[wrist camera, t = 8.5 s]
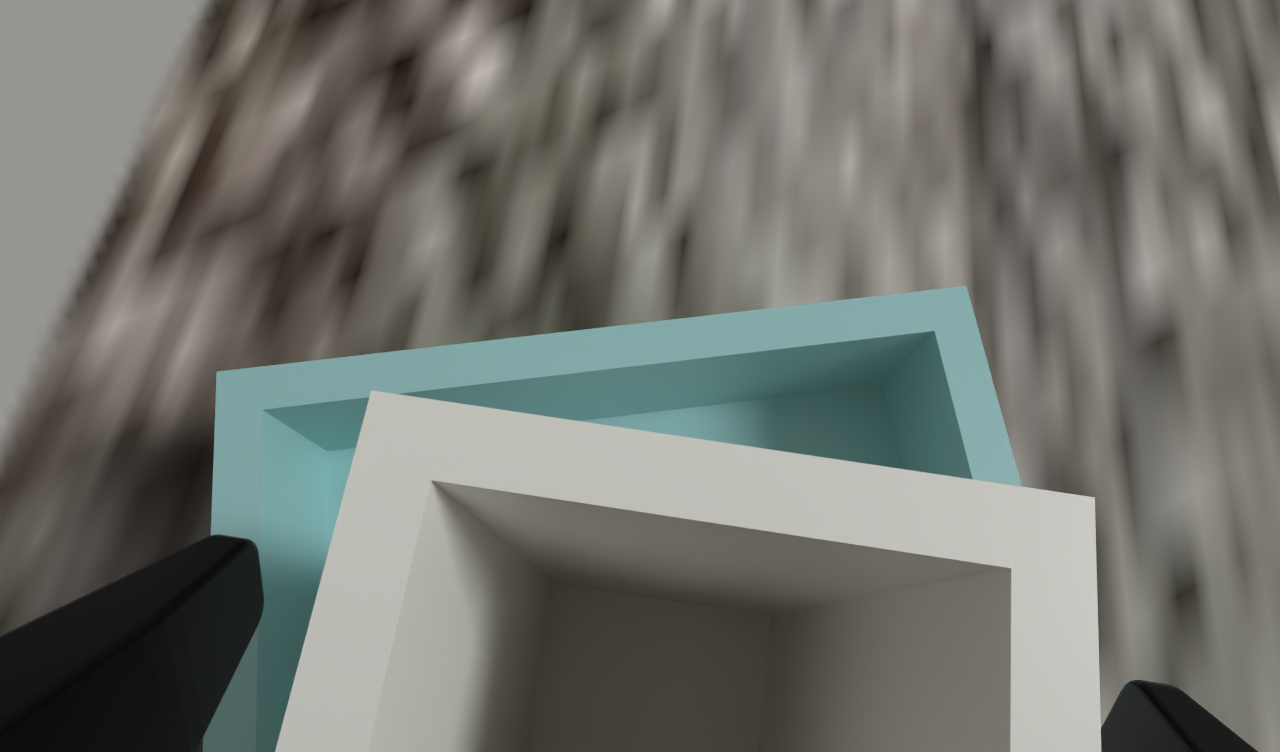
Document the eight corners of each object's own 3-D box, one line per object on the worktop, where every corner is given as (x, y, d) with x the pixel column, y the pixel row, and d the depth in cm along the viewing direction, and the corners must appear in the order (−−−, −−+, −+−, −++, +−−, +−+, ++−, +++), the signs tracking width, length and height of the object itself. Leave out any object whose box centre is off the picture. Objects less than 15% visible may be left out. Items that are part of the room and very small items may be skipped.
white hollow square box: (798, 591, 16) (1093, 496, 6) (772, 896, 15) (1123, 1517, 4) (534, 550, 17) (371, 390, 6) (478, 847, 15) (124, 1320, 4)
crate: (1069, 1066, 15) (1223, 1215, 11) (302, 1193, 14) (178, 1398, 10) (898, 358, 19) (965, 286, 15) (303, 428, 18) (216, 372, 14)
